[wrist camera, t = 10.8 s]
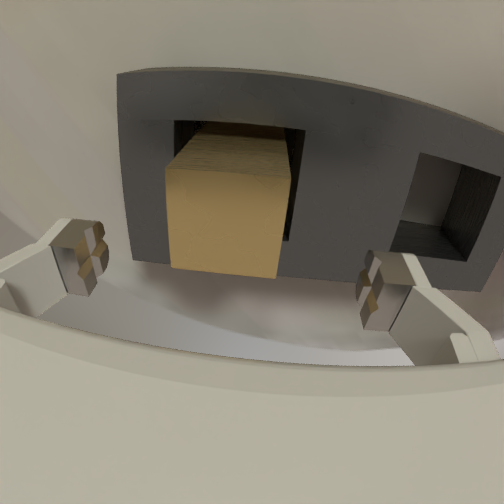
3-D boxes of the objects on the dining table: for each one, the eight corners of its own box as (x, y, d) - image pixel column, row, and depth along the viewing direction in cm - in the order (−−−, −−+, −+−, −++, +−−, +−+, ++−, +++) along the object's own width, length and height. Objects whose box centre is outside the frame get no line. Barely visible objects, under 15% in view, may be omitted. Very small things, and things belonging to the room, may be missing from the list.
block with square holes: (502, 132, 14) (539, 153, 11) (457, 256, 20) (480, 291, 17) (148, 68, 14) (116, 74, 11) (154, 223, 20) (132, 259, 17)
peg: (283, 125, 16) (291, 179, 10) (275, 190, 18) (275, 278, 12) (209, 119, 16) (164, 168, 10) (207, 184, 18) (170, 267, 12)
